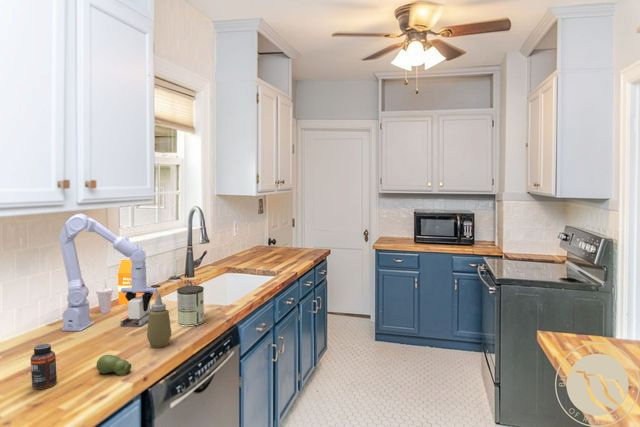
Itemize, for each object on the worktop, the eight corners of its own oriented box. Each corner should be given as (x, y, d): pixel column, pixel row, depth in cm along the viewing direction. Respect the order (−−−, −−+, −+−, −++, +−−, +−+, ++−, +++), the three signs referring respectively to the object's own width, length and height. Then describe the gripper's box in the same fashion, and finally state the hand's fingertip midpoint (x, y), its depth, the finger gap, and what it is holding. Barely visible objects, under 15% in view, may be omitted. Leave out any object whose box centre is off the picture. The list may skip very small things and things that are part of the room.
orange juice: (137, 304, 202) (136, 261, 201) (118, 304, 202) (117, 261, 201) (144, 299, 210) (143, 258, 209) (125, 299, 210) (124, 258, 208)
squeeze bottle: (142, 348, 149) (141, 297, 148) (154, 340, 157) (153, 291, 156) (164, 350, 148) (163, 298, 147) (175, 341, 156) (174, 291, 155)
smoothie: (106, 314, 187) (105, 282, 186) (93, 313, 188) (92, 281, 187) (116, 310, 193) (115, 278, 192) (103, 309, 194) (102, 278, 193)
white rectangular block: (139, 319, 174) (139, 301, 174) (128, 318, 175) (128, 301, 174) (150, 311, 184) (149, 295, 184) (139, 311, 184) (139, 295, 184)
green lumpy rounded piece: (104, 350, 134) (135, 356, 133) (102, 366, 134) (133, 373, 134) (93, 357, 128) (126, 364, 128) (91, 374, 129) (123, 381, 128)
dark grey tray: (140, 326, 171) (140, 321, 171) (120, 326, 172) (120, 320, 172) (157, 314, 187) (157, 309, 187) (139, 313, 188) (138, 308, 188)
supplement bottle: (58, 378, 127) (56, 340, 126) (55, 387, 121) (53, 348, 120) (34, 382, 124) (32, 343, 124) (29, 391, 119) (27, 351, 118)
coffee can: (178, 319, 180) (177, 286, 179) (204, 317, 183) (203, 284, 182) (176, 327, 170) (176, 292, 169) (204, 325, 173) (203, 290, 172)
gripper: (160, 275, 182) (161, 307, 183) (126, 275, 182) (127, 307, 184) (153, 279, 175) (153, 312, 176) (117, 279, 175) (118, 312, 177)
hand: (139, 310), depth 179 cm, fingers closed on white rectangular block, 4 cm apart
